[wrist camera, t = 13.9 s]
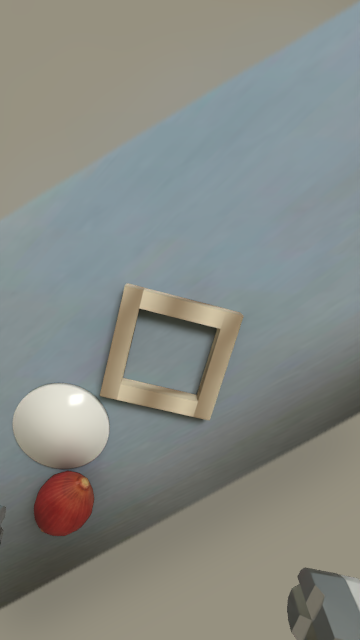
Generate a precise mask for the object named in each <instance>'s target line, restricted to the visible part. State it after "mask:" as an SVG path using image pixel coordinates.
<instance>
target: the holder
mask: <svg viewBox="0 0 360 640" xmlns="http://www.w3.org/2000/svg"><path fill="white" fill-rule="evenodd" d="M139 309H144V310H148V311H151V312H155V313H159V314H163V315H167V316H171V317H175V318H179V319H183V320H187V321H191V322H195V323H199V324H203V325H207V326H211V327H215V328H217V331H216V334H215V337H214V341H213V344H212V347H211V350H210V354H209V357H208V360H207V363H206V367H205V370H204V373H203V376H202V379H201V383H200V386H199V389H198V392H197V395H195V394H190V393H186V392H182V391H177V390H173V389H169V388H164V387H160V386H156V385H151V384H147V383H143V382H138V381H134V380H130V379H125V378H123V375H124V371H125V367H126V362H127V358H128V354H129V350H130V346H131V342H132V338H133V334H134V330H135V326H136V321H137V317H138V313H139ZM242 319H243V315H242V314H241V313H240V312H236V311H232V310H228V309H224V308H221V307H217V306H213V305H209V304H205V303H201V302H197V301H193V300H190V299H186V298H182V297H178V296H174V295H170V294H166V293H163V292H159V291H155V290H151V289H147V288H143V287H139V286H136V285H132V284H128V283H127V284H126V285H125V287H124V292H123V296H122V301H121V305H120V309H119V314H118V318H117V323H116V327H115V331H114V336H113V340H112V344H111V349H110V353H109V358H108V362H107V366H106V371H105V375H104V379H103V384H102V388H101V393H100V396H102V397H107V398H111V399H116V400H120V401H125V402H129V403H134V404H138V405H143V406H147V407H152V408H156V409H160V410H165V411H169V412H174V413H178V414H183V415H187V416H192V417H196V418H201V419H205V420H210V417H211V414H212V411H213V408H214V405H215V402H216V399H217V396H218V393H219V390H220V387H221V384H222V381H223V378H224V375H225V371H226V368H227V365H228V362H229V359H230V356H231V353H232V350H233V347H234V344H235V341H236V338H237V335H238V332H239V329H240V325H241V322H242Z"/></svg>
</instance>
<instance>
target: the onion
mask: <svg viewBox="0 0 360 640" xmlns="http://www.w3.org/2000/svg"><path fill="white" fill-rule="evenodd" d="M93 503H94V494H93V489H92V487H91V485H90V483H89V480H88V479H87V478H86V477H84V476H83V475H81V474H80V473H76V472H72V471H65V472H62V473H58V474H55V475H53V476H52V477H51V478H50V479H49V480H48V481H47V482H46V483H45V484H44V485H43V486H42V487H41V489H40V490H39V492H38V495H37V498H36V501H35V505H34V516H35V520H36V523H37V525H38V527H39V528H40V529H41V531H42V532H44V533H47V534H50V535H53V536H65V535H67V534H70V533H72V532H74V531H76V530H78V529H79V528H81V527H82V525H83V524H84V523H85V522H86V521H87V519H88V518H89V516H90V515H91V513H92V508H93Z"/></svg>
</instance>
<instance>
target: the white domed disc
mask: <svg viewBox="0 0 360 640" xmlns="http://www.w3.org/2000/svg"><path fill="white" fill-rule="evenodd" d="M13 431H14V435H15V438H16V440H17V442H18V444H19V446H20V447H21V449H22V450H23V451H24V452H25V453H26V454H27V455H28V456H29V457H30V458H32V459H33V460H35V461H36V462H38V463H40V464H42V465H45V466H48V467H52V468H58V469H71V468H76V467H80V466H83V465H85V464H87V463H89V462H91V461H92V460H94V459H95V458H96V457H97V456H98V455H99V454H100V453H101V452H102V450H103V449H104V447H105V445H106V442H107V439H108V436H109V431H110V423H109V418H108V414H107V412H106V410H105V408H104V406H103V405H102V403H101V402H100V401H99V400H98V399H97V398H96V397H95V396H94V395H93V394H92V393H90V392H89V391H87V390H85V389H84V388H81V387H79V386H76V385H72V384H67V383H51V384H46V385H43V386H40V387H38V388H36V389H34V390H33V391H31V392H30V393H29V394H27V395H26V396H25V397H24V399H23V400H22V401H21V402H20V403H19V405H18V407H17V408H16V411H15V413H14V417H13Z"/></svg>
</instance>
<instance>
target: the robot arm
mask: <svg viewBox="0 0 360 640" xmlns="http://www.w3.org/2000/svg"><path fill="white" fill-rule="evenodd" d="M5 513H6V507H5V506H1V505H0V525H1V523H2V521H3V520H4V518H5ZM2 536H3V529H2V527H1V526H0V544H1V540H2ZM298 580H299V583H300V584H299V585H297V586H295V587H294V588H292V590H291V592H290V595H289V597H288V606H287V612H288V621H289V625H290V629H291V632H292V633H293V635H294V636H295V638H296V639H297V640H360V580H359V579H358V578H354V577H349V576H344V575H338V574H336V573H331V572H326V571H320V570H315V569H310V568H303V569H302V570H301V571H300V573H299V575H298Z"/></svg>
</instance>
